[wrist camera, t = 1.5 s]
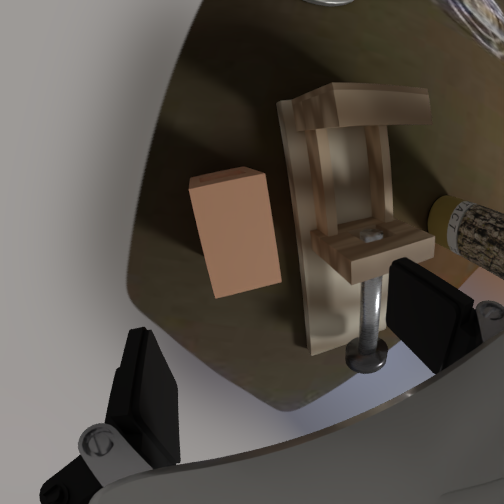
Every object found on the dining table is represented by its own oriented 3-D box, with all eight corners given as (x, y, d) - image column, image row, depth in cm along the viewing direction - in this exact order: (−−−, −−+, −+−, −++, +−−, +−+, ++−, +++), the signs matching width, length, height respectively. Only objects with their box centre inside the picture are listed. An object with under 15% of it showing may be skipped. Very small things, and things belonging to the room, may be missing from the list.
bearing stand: (275, 103, 24) (318, 82, 15) (372, 99, 25) (435, 90, 16) (307, 348, 35) (337, 401, 26) (380, 322, 36) (419, 363, 27)
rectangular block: (190, 177, 25) (188, 189, 18) (243, 166, 26) (264, 173, 18) (208, 258, 28) (215, 298, 21) (258, 246, 29) (281, 281, 21)
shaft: (335, 230, 26) (363, 248, 22) (377, 220, 27) (409, 235, 22) (338, 352, 32) (357, 379, 27) (373, 339, 33) (394, 363, 28)
